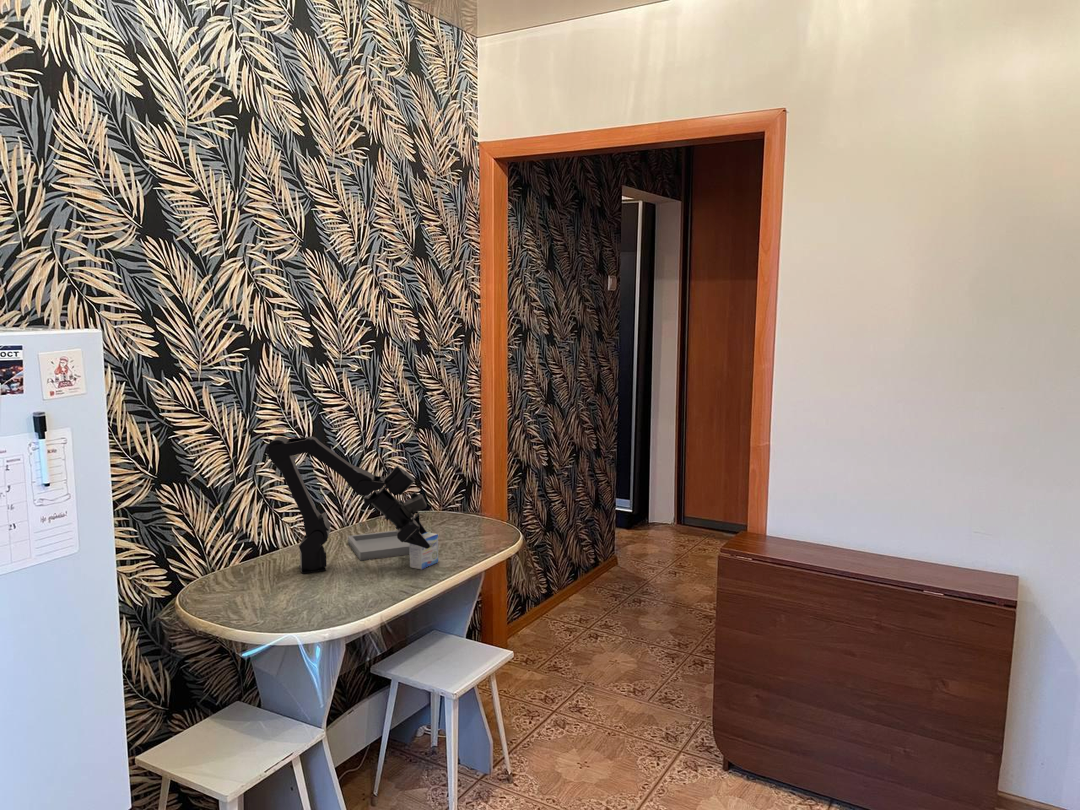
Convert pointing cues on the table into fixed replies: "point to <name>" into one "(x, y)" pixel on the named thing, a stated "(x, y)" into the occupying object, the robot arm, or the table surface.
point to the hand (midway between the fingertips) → (428, 542)
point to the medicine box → (424, 552)
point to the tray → (378, 545)
